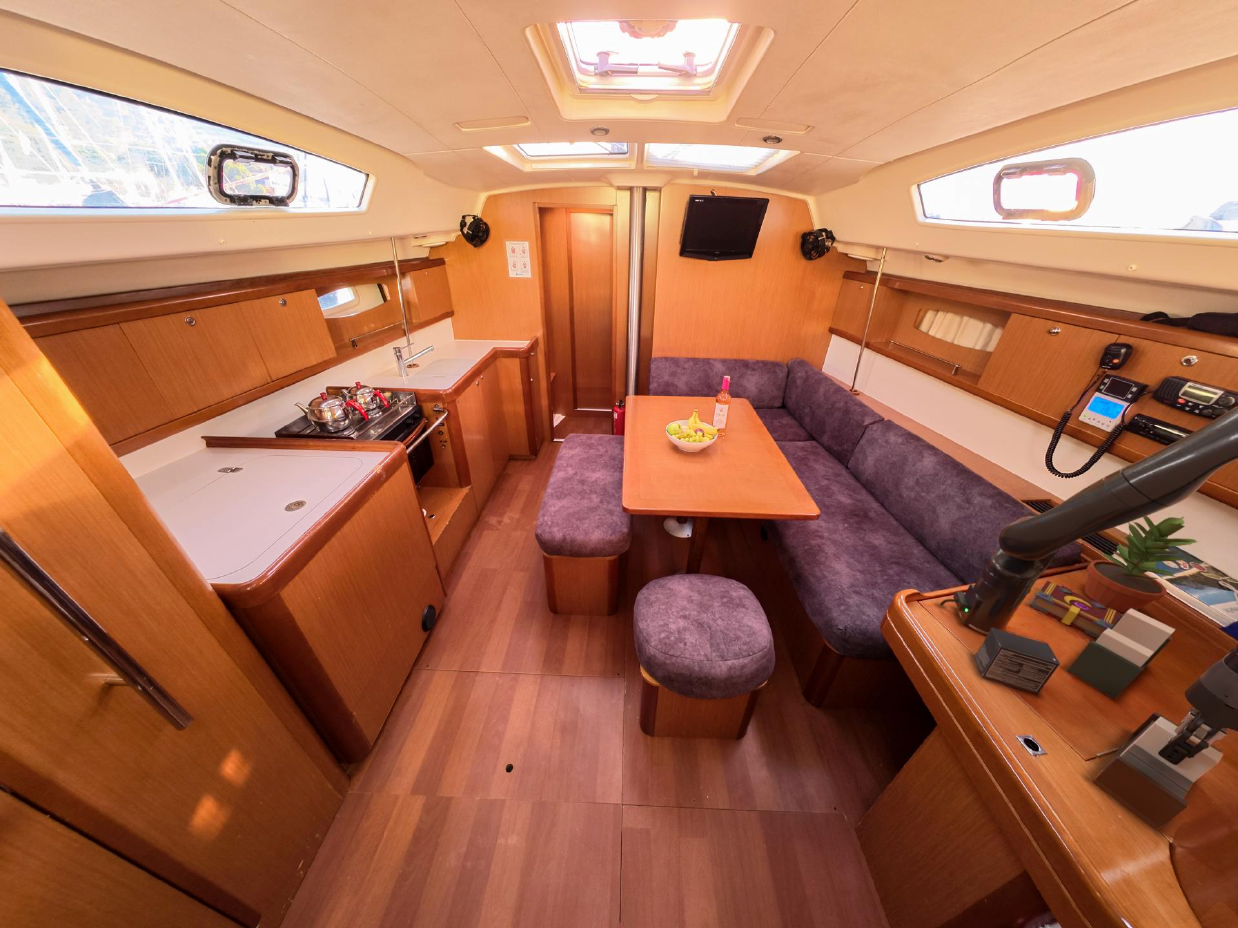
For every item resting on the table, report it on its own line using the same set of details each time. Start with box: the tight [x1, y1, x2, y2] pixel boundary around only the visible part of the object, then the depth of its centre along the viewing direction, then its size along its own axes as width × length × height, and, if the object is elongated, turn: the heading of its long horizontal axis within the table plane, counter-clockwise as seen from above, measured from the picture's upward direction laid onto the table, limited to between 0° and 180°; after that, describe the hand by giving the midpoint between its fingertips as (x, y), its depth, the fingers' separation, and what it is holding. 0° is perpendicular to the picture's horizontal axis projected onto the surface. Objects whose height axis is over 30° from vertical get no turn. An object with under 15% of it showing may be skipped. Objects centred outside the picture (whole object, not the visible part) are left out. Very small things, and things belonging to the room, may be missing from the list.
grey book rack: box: [1092, 711, 1222, 831], centre depth 74 cm, size 20×8×8 cm, turn 116°
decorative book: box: [1029, 580, 1122, 640], centre depth 110 cm, size 11×16×5 cm
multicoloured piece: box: [1066, 608, 1176, 700], centre depth 94 cm, size 20×8×13 cm, turn 116°
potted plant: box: [1084, 515, 1198, 614], centre depth 111 cm, size 15×15×30 cm
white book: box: [1120, 717, 1224, 783], centre depth 72 cm, size 3×7×12 cm, turn 26°
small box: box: [973, 628, 1061, 696], centre depth 92 cm, size 11×6×10 cm, turn 65°
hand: (1170, 753), depth 72 cm, fingers closed on white book, 3 cm apart
